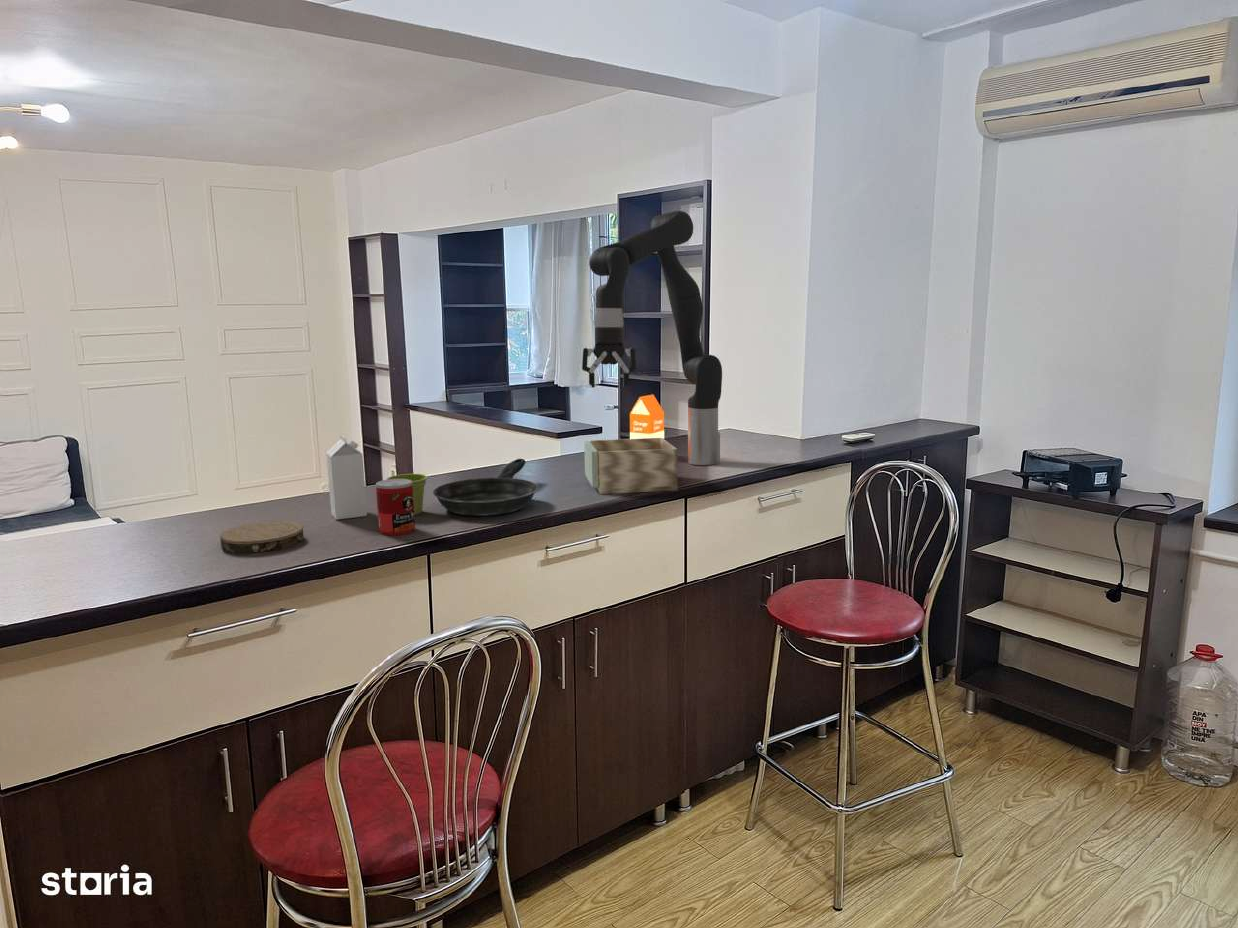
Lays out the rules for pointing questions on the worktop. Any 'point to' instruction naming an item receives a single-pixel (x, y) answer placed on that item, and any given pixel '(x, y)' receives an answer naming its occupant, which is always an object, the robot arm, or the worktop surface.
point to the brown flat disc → (261, 537)
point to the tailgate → (591, 463)
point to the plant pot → (415, 488)
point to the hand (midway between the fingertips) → (608, 387)
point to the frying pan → (488, 493)
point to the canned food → (395, 506)
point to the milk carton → (346, 480)
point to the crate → (636, 465)
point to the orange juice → (647, 419)
